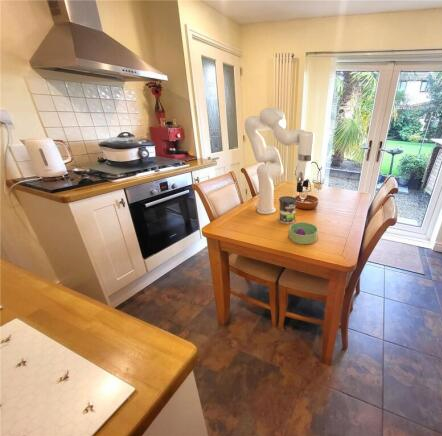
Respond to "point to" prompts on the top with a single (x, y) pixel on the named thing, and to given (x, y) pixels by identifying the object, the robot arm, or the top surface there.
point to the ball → (300, 232)
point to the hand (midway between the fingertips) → (302, 189)
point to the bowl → (310, 233)
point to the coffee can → (287, 209)
